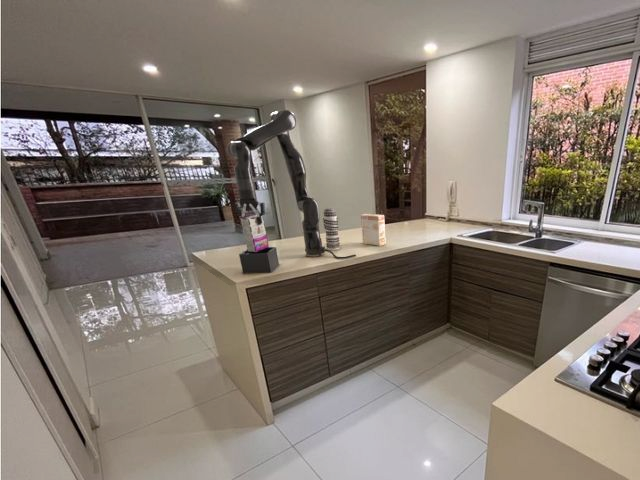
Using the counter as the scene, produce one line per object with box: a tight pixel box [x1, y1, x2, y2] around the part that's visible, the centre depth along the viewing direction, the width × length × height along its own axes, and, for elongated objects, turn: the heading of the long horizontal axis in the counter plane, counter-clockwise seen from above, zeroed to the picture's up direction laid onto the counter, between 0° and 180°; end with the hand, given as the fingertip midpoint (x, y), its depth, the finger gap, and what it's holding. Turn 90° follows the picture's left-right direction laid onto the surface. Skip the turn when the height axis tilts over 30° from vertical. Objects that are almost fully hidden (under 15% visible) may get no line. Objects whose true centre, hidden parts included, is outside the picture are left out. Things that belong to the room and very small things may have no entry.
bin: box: [238, 246, 280, 274], centre depth 175 cm, size 14×15×10 cm
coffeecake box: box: [360, 213, 386, 247], centre depth 228 cm, size 15×7×20 cm, turn 58°
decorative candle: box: [322, 207, 341, 251], centre depth 214 cm, size 9×9×25 cm
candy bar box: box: [240, 214, 270, 252], centre depth 169 cm, size 11×5×16 cm, turn 168°
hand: (253, 224), depth 168 cm, fingers closed on candy bar box, 5 cm apart
